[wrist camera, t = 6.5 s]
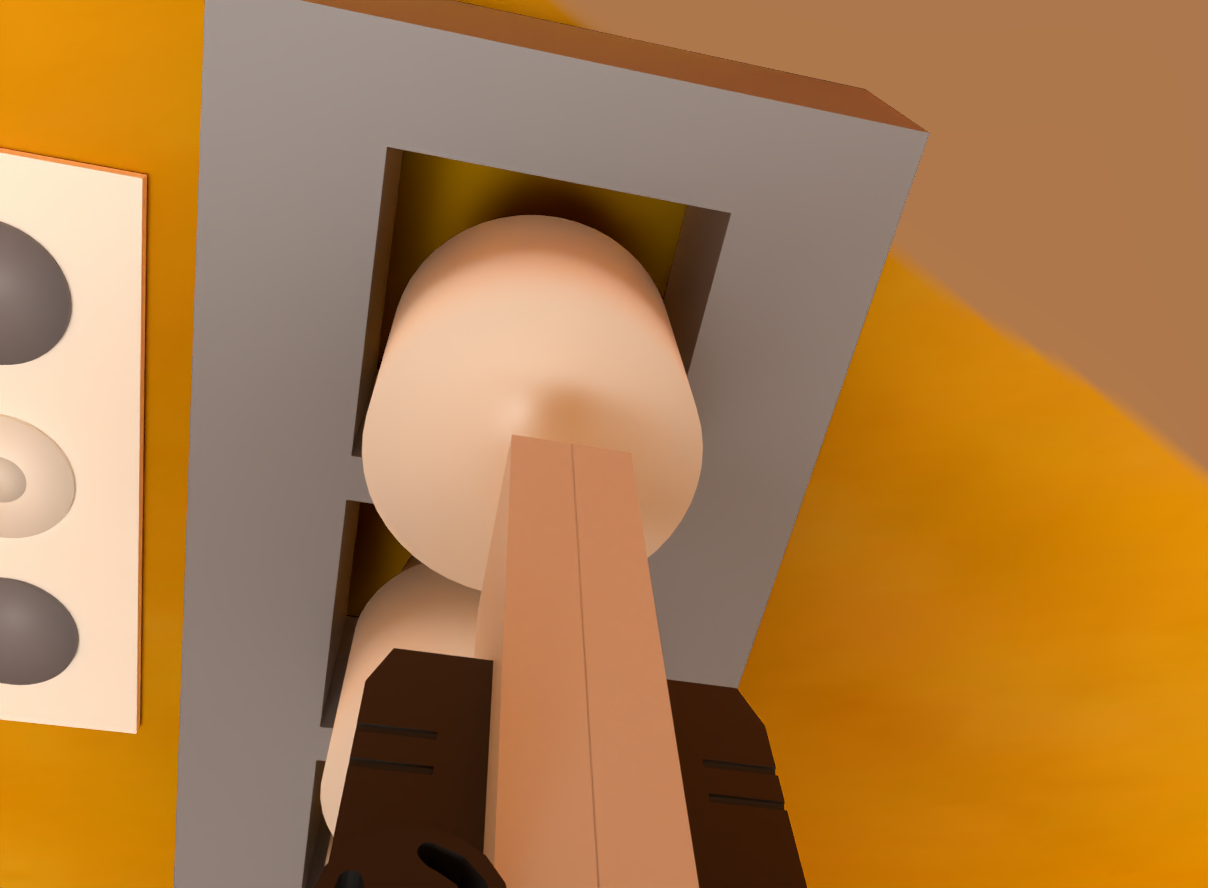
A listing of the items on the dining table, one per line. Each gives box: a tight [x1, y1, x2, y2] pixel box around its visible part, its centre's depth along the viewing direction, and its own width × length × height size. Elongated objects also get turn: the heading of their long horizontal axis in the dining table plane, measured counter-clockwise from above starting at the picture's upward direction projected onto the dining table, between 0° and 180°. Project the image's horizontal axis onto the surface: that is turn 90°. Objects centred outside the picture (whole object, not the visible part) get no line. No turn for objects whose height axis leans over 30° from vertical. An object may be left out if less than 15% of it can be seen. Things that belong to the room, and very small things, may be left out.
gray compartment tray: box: [174, 0, 929, 888], centre depth 25 cm, size 12×24×4 cm, turn 168°
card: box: [0, 148, 147, 734], centre depth 25 cm, size 6×15×1 cm, turn 168°
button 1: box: [362, 215, 703, 591], centre depth 18 cm, size 5×5×6 cm
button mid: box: [320, 555, 481, 837], centre depth 22 cm, size 5×5×6 cm
